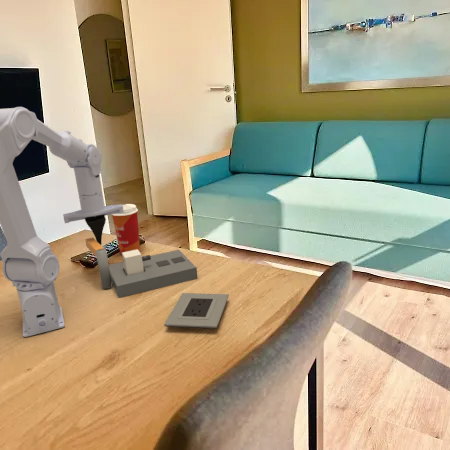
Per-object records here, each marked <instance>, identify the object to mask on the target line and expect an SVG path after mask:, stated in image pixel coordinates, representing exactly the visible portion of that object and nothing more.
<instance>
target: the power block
mask: <svg viewBox="0 0 450 450" xmlns="http://www.w3.org/2000/svg"><path fill="white" fill-rule="evenodd" d="M150 257H151V260H146V261H142V262H143V269H144V272H141V273H137V274H132V275H128V276H126V274H125V270H124V263H123V261H120V262H116V263H111V264H109V270H110V276H111V282H112V287H113V288H114V290H115V293H116V295H117V297H118V298H119V299H120V298H124V297H128V296H132V295H137V294H139V293H144V292H145V293H146V292H149V291H153V290H156V289H161V288H165V287H169V286H173V285H177V284H181V283H182V284H183V283H185V282H188V281H189V282H190V281H193V280H197V279H199V278H198V270H197V269H198V268H197V266H196V265H195V264H194V263H192V261H191V260H190V259H189V258H188V257H187V256H186V255H185V254H184V253H183V252H182V251H181V250H180V249H175V250H171V251H165V252H162V253H158V254H157V253H156V254H152V255H150Z"/></svg>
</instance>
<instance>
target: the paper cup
mask: <svg viewBox="0 0 450 450" xmlns="http://www.w3.org/2000/svg"><path fill="white" fill-rule="evenodd" d="M122 206H123V210H124V213H121V214H120V213H117V214H111V215H110V216H111V217H112V223H113V225H114V230H115V231H114V232H115V235H116V239H117V244H118V248H119V252H120V255H121V256H122V252H127V251H132V250H137V249H138V250H139V252H140V253H141V249H140V248H141V247H140V246H141V245H140V233H139V231H140V230H139V220H138V219H139V218H138V211H139V209H138V208H137V205H136V204H134V203H126V204H122Z"/></svg>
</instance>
